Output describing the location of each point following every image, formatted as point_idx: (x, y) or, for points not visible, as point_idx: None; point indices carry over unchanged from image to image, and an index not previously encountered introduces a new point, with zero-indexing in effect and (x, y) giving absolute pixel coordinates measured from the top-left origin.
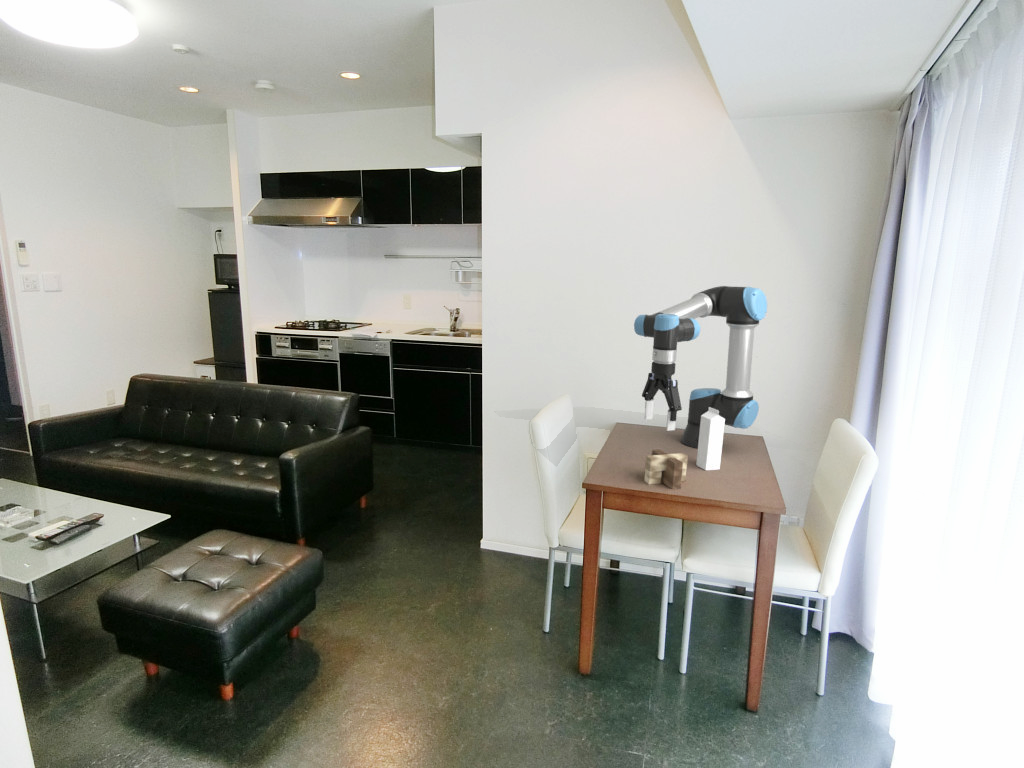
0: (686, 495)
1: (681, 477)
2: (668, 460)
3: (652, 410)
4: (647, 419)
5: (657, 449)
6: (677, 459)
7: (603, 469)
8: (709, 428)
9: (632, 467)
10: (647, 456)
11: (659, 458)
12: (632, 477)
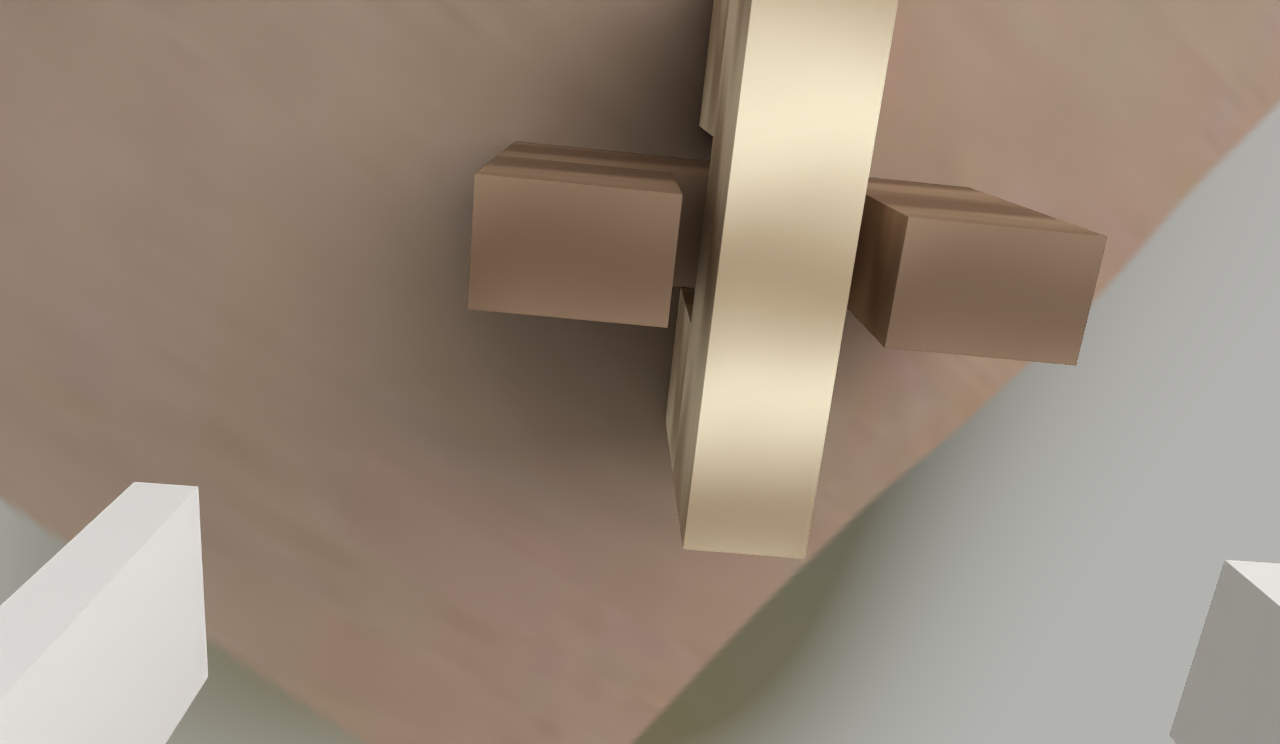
0: (1132, 253)
1: (1015, 205)
2: (912, 346)
3: (62, 654)
4: (204, 629)
5: (477, 221)
6: (978, 231)
7: (242, 609)
8: None
9: (248, 293)
10: (711, 550)
11: (824, 436)
12: (529, 466)
